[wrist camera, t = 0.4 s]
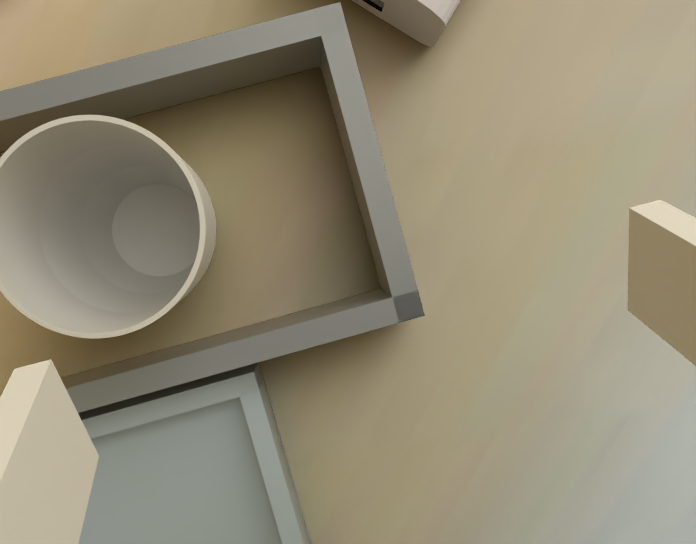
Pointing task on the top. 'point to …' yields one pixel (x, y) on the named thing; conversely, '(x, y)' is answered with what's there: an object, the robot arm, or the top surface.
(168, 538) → the tray
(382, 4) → the charger
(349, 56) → the holder
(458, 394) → the top surface
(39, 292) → the cup
